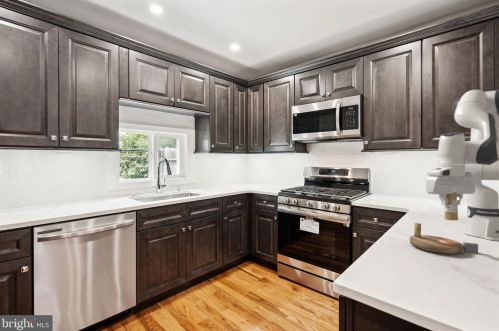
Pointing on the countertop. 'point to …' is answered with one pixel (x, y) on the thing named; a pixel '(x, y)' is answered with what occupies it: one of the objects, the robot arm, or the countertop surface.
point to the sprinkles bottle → (451, 206)
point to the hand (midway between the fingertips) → (450, 204)
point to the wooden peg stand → (434, 242)
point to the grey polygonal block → (470, 247)
